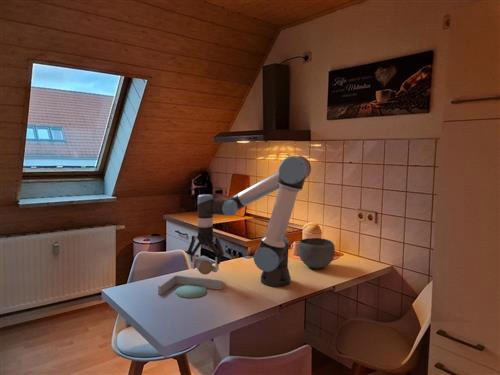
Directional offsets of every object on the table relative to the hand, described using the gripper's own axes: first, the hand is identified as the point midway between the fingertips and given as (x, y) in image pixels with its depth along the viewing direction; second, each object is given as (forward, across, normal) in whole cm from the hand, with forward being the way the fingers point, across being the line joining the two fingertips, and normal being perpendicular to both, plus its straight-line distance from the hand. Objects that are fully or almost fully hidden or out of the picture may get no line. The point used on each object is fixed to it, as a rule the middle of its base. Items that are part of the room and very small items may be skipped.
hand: (205, 269), depth 188 cm
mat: (+6, +1, +16) cm, 17 cm away
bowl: (+7, -50, -43) cm, 67 cm away
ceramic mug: (+2, 0, 0) cm, 2 cm away
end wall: (+6, +13, +16) cm, 21 cm away
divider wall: (+6, +1, +8) cm, 10 cm away
